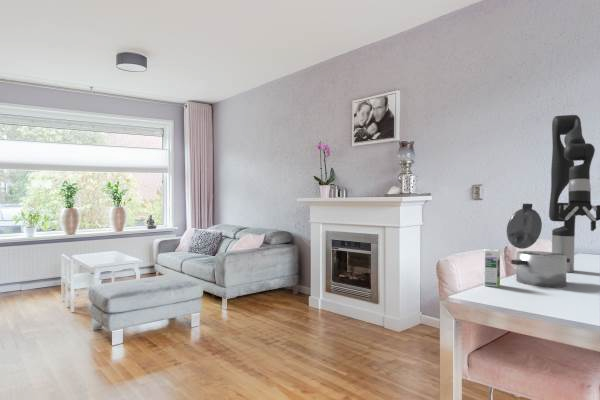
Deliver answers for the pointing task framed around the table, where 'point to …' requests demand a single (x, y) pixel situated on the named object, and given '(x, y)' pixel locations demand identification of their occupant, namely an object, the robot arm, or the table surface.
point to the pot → (541, 268)
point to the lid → (524, 227)
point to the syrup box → (492, 267)
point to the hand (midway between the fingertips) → (579, 230)
